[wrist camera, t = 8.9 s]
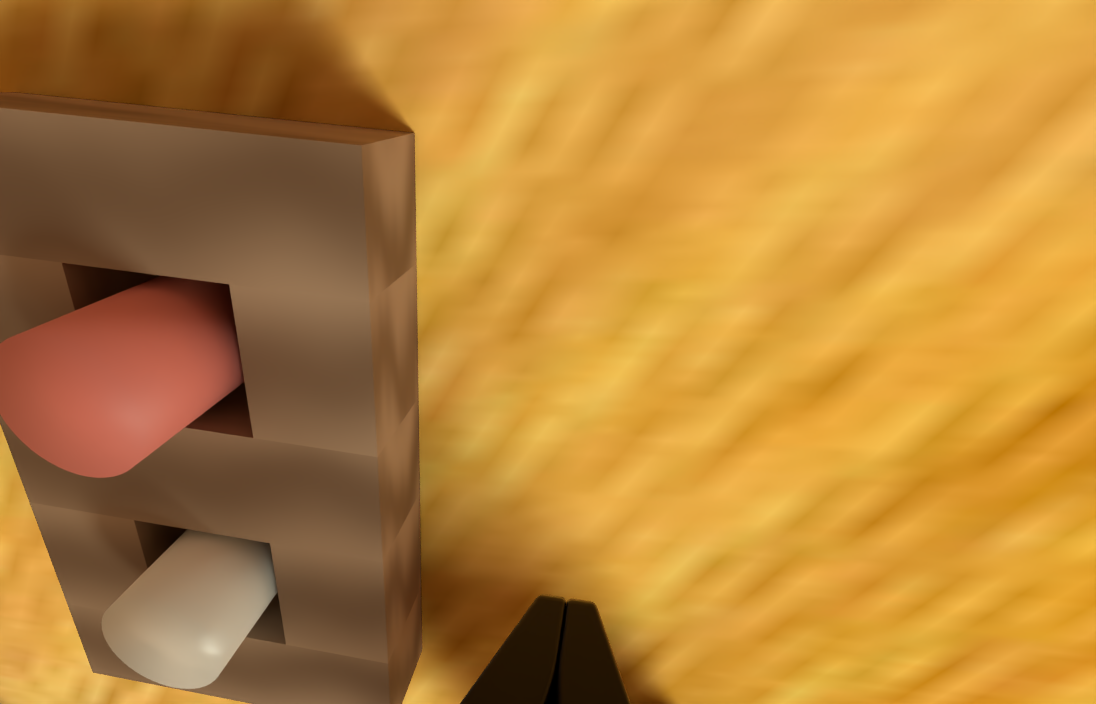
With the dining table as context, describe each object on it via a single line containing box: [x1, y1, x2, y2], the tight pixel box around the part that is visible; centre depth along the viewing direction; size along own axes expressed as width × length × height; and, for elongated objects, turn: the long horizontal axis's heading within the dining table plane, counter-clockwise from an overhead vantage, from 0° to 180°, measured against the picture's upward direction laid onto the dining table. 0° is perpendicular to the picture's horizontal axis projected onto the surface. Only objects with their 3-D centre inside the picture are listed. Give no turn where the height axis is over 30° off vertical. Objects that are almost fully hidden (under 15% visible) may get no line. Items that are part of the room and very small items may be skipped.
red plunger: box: [0, 276, 244, 478], centre depth 18 cm, size 4×4×6 cm
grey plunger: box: [102, 529, 278, 689], centre depth 23 cm, size 4×4×6 cm
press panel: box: [0, 92, 422, 704], centre depth 23 cm, size 24×14×4 cm, turn 175°
